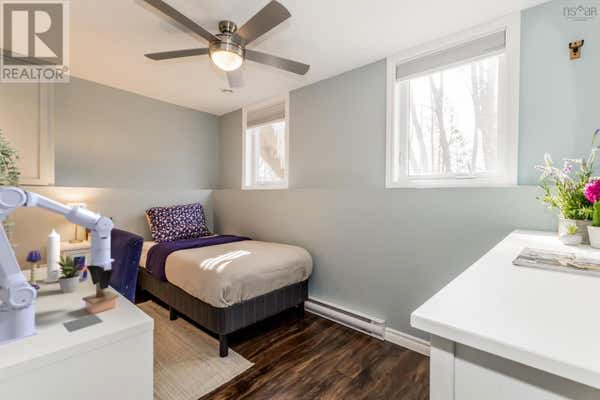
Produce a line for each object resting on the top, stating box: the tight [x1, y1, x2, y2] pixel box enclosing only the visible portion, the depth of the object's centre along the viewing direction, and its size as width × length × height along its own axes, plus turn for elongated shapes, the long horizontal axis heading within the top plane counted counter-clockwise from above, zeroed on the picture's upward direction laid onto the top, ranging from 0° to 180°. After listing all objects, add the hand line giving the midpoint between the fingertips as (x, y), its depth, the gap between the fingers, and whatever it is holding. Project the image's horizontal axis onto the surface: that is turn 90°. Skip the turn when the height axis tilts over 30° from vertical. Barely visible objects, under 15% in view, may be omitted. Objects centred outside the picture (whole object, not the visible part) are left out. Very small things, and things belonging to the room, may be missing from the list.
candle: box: [43, 228, 61, 284], centre depth 126 cm, size 7×7×25 cm
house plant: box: [50, 253, 88, 294], centre depth 113 cm, size 14×14×16 cm
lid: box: [81, 282, 119, 305], centre depth 96 cm, size 8×8×6 cm
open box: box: [85, 298, 116, 316], centre depth 96 cm, size 7×7×4 cm
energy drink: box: [72, 253, 88, 282], centre depth 127 cm, size 5×5×12 cm
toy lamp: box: [25, 250, 42, 291], centre depth 114 cm, size 5×5×17 cm
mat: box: [62, 314, 104, 333], centre depth 85 cm, size 8×8×1 cm
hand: (100, 286), depth 96 cm, fingers open, 7 cm apart
